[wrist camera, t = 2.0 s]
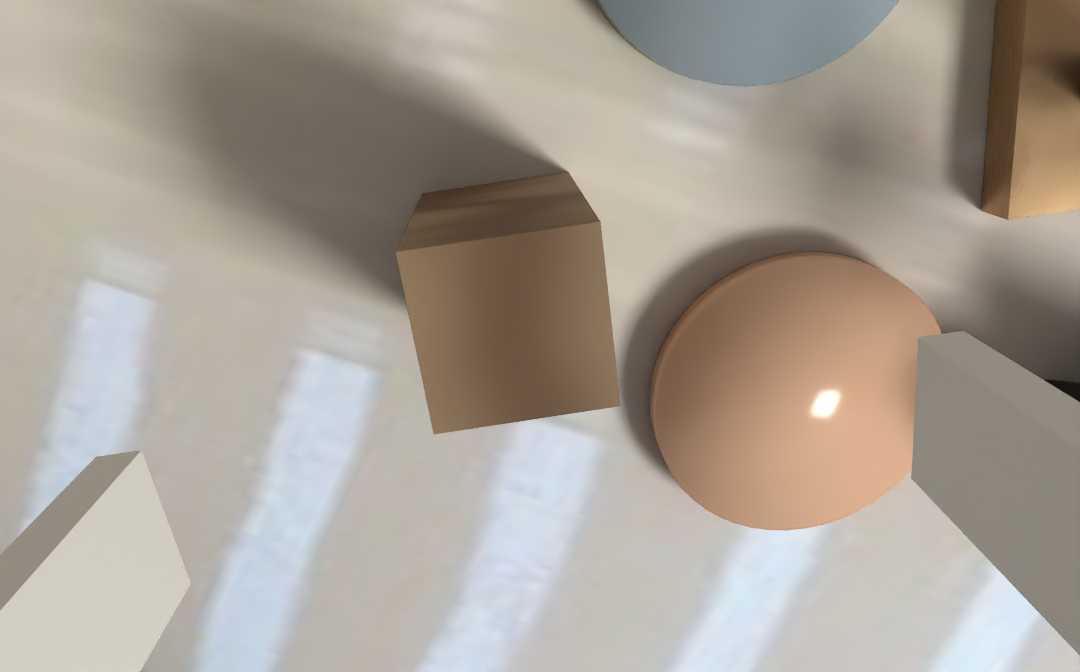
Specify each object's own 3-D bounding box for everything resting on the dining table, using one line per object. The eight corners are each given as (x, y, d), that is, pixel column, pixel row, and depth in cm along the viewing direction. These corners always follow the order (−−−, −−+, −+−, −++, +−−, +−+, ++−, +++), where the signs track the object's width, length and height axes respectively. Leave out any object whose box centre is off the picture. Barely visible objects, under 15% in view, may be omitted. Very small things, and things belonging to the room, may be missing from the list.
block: (448, 329, 28) (433, 434, 20) (422, 193, 26) (395, 252, 18) (584, 309, 28) (620, 406, 20) (568, 171, 26) (600, 221, 18)
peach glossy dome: (661, 531, 31) (667, 549, 30) (637, 275, 27) (643, 285, 26) (925, 490, 31) (941, 507, 30) (939, 230, 27) (958, 238, 26)
